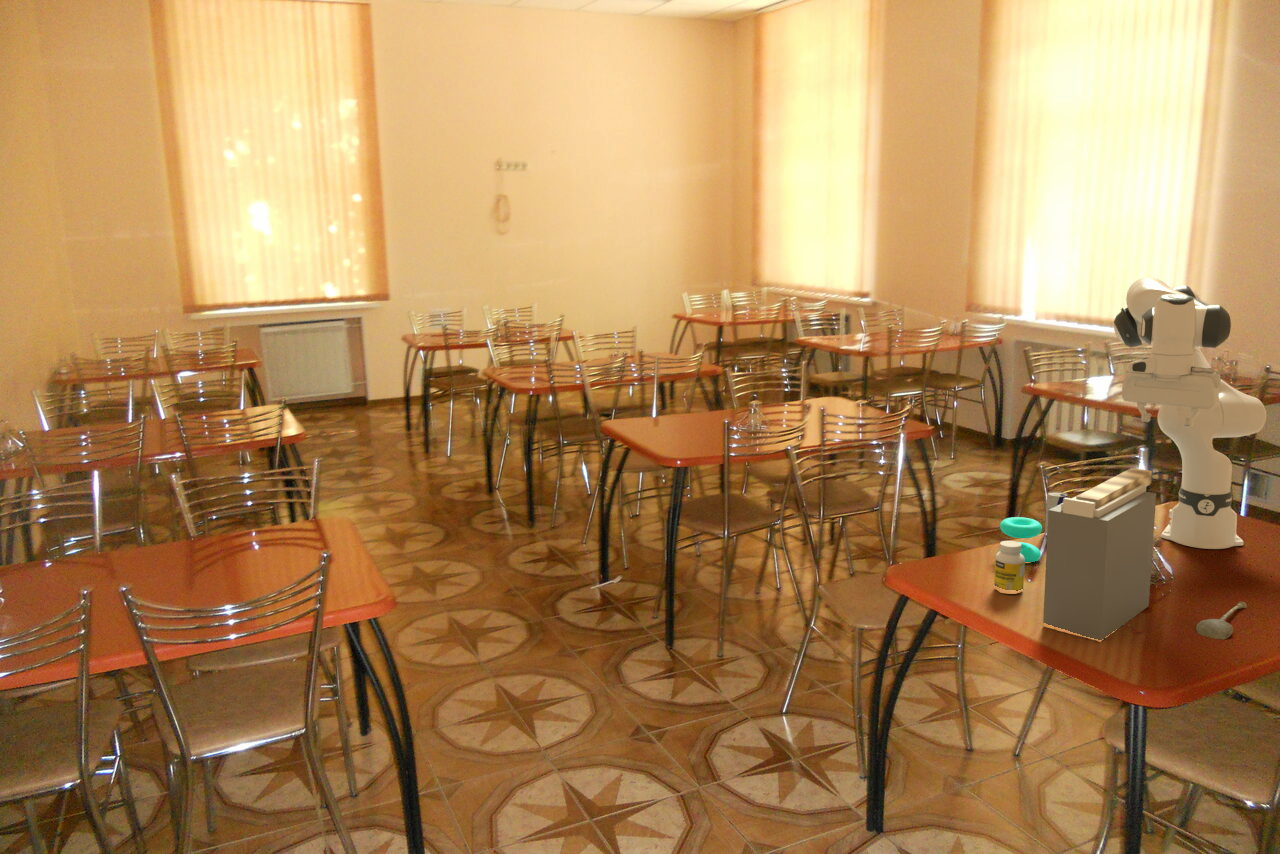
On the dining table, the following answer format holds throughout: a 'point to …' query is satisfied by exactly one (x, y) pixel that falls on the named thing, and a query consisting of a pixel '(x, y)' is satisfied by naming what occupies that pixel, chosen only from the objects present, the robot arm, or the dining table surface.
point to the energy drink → (1053, 503)
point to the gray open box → (1099, 562)
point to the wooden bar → (1116, 486)
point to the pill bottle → (1009, 566)
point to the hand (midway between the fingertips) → (1167, 423)
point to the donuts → (1023, 535)
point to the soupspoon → (1218, 625)
